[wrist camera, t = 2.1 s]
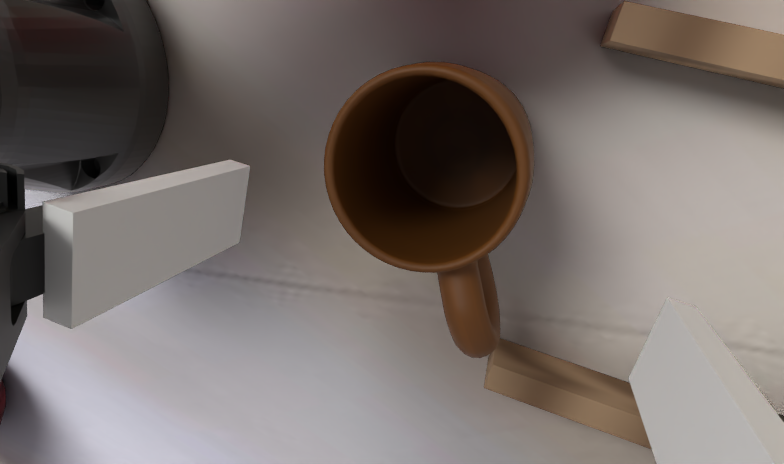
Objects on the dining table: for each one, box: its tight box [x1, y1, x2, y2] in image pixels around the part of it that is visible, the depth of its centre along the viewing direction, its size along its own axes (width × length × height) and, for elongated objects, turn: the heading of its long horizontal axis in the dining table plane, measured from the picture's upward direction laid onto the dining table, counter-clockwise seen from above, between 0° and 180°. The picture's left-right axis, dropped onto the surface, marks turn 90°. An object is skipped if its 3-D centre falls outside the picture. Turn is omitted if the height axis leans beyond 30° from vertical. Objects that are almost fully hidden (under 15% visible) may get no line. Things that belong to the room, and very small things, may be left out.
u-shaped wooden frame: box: [484, 1, 784, 449], centre depth 22 cm, size 20×19×4 cm
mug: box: [324, 62, 534, 358], centre depth 22 cm, size 12×8×9 cm, turn 17°
